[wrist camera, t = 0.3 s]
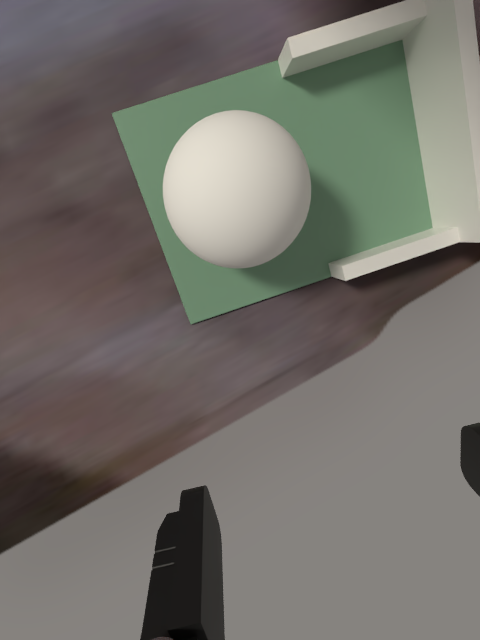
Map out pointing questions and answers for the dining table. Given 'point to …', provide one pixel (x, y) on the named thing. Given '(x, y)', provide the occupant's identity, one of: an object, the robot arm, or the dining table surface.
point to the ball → (236, 189)
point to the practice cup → (340, 148)
